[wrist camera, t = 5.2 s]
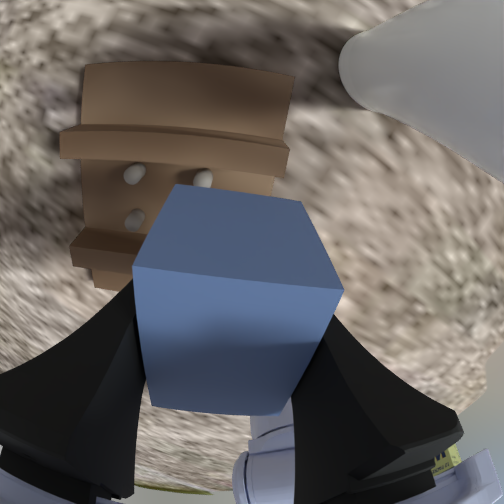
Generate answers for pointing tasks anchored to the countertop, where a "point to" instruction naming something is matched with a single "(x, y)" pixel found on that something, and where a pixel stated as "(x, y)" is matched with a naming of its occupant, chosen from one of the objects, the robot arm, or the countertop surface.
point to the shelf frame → (167, 147)
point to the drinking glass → (437, 75)
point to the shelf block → (230, 301)
